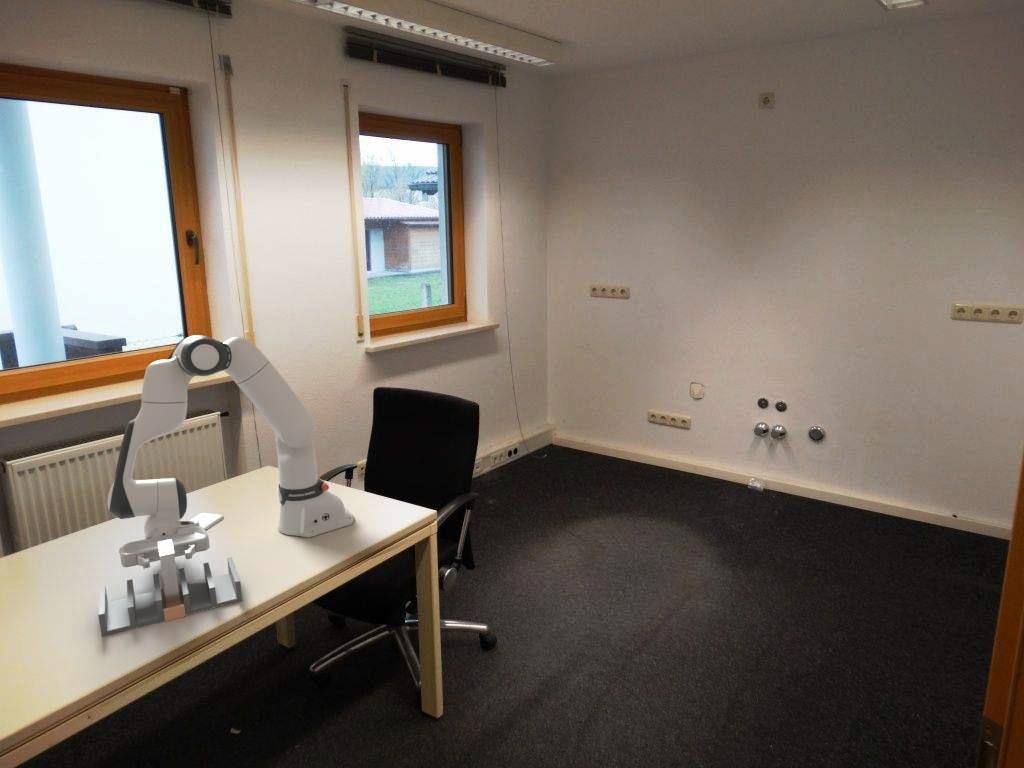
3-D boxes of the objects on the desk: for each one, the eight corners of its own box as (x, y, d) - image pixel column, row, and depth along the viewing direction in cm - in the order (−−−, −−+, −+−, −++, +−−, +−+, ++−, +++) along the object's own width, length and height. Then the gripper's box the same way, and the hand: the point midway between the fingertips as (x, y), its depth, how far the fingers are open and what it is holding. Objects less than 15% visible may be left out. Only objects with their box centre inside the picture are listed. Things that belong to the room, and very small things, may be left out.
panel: (177, 590, 172) (171, 539, 169) (180, 605, 165) (173, 552, 162) (164, 593, 171) (157, 542, 167) (166, 608, 164) (159, 555, 160)
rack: (234, 575, 181) (232, 557, 180) (242, 602, 169) (240, 582, 168) (102, 606, 167) (99, 586, 166) (101, 637, 154) (98, 616, 153)
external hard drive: (224, 519, 216) (198, 536, 205) (201, 517, 218) (174, 534, 206) (223, 514, 216) (197, 531, 204) (200, 512, 218) (174, 529, 206)
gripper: (117, 536, 174) (117, 559, 162) (204, 519, 184) (210, 539, 172) (120, 558, 175) (121, 583, 164) (206, 540, 185) (213, 562, 173)
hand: (167, 560), depth 168 cm, fingers open, 8 cm apart
